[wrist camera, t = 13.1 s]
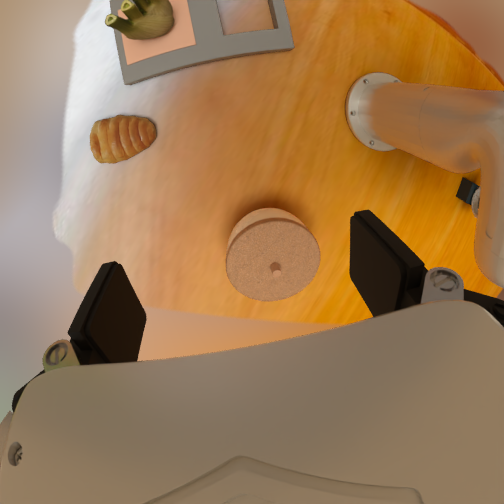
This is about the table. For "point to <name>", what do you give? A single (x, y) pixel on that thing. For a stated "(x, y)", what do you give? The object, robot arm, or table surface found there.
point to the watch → (470, 194)
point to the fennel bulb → (143, 19)
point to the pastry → (120, 138)
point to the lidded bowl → (271, 255)
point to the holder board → (196, 40)
